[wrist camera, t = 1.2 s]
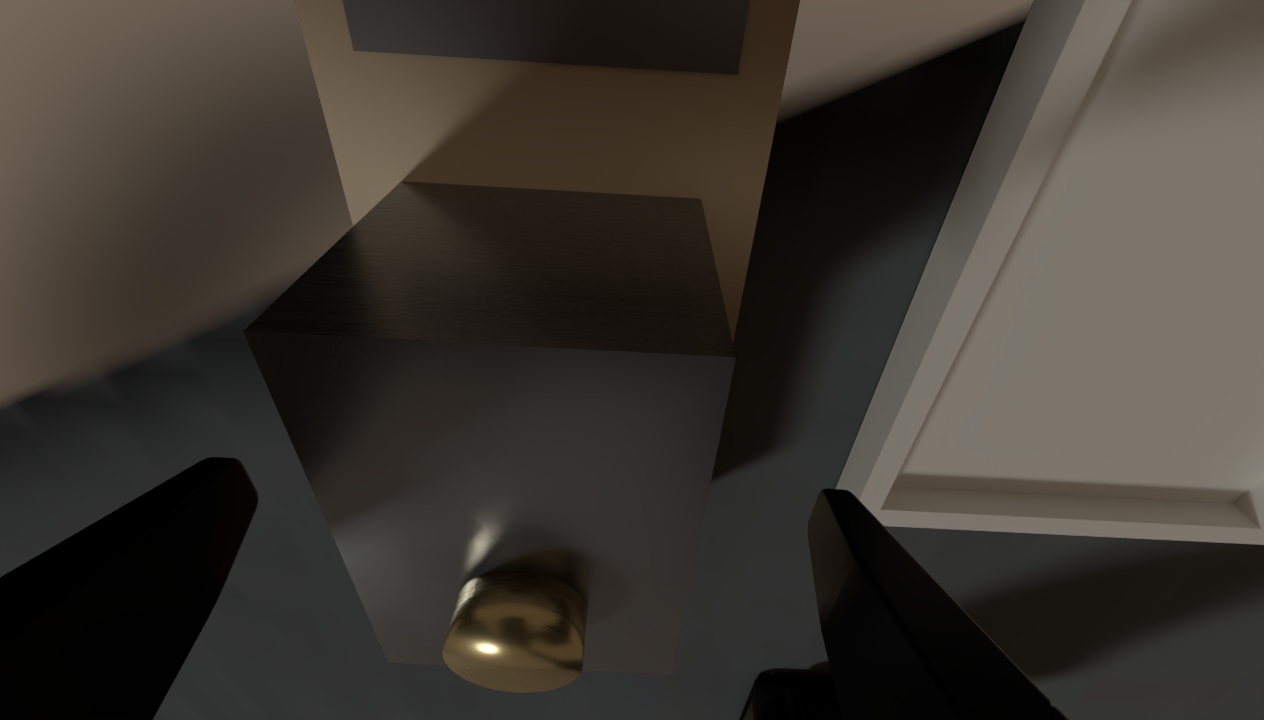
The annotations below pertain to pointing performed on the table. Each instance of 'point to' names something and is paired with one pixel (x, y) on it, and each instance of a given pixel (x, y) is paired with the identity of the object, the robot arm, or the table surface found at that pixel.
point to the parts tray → (1092, 293)
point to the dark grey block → (510, 422)
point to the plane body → (559, 100)
